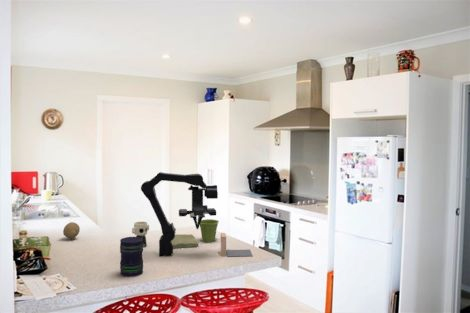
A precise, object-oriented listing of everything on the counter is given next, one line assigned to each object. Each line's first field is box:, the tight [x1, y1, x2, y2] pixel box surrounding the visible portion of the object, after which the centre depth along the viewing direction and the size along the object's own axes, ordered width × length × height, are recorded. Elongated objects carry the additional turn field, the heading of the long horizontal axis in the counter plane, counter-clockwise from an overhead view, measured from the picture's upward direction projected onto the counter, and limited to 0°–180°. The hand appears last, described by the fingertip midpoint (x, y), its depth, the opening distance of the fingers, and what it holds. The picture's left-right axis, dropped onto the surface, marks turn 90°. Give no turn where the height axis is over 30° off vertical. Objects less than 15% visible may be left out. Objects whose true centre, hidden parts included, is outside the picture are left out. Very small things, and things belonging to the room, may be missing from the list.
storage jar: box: [119, 236, 144, 278], centre depth 175 cm, size 10×10×15 cm
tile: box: [220, 232, 227, 257], centre depth 205 cm, size 2×8×10 cm, turn 5°
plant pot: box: [199, 218, 219, 243], centre depth 230 cm, size 12×12×11 cm
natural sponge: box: [62, 221, 81, 240], centre depth 230 cm, size 9×9×10 cm
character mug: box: [131, 221, 150, 247], centre depth 217 cm, size 11×7×13 cm, turn 139°
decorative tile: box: [171, 233, 199, 250], centre depth 223 cm, size 19×20×4 cm
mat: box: [226, 249, 254, 258], centre depth 206 cm, size 13×11×1 cm
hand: (197, 229), depth 203 cm, fingers closed
